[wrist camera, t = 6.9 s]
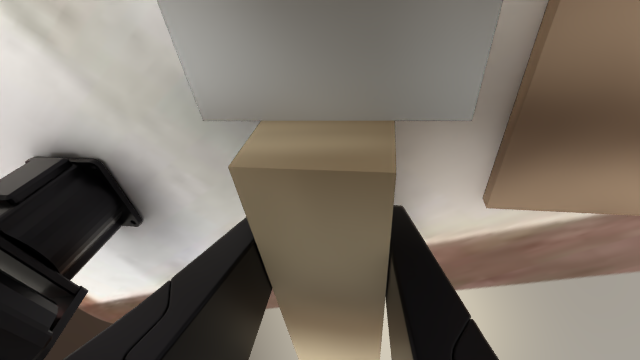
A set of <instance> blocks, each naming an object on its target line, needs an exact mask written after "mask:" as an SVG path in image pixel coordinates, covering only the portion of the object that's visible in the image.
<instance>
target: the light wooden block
mask: <svg viewBox="0 0 640 360" xmlns="http://www.w3.org/2000/svg"><path fill="white" fill-rule="evenodd" d="M157 2H158V5H159V8H160V10H161V13H162V15H163V18H164V21H165V23H166V26H167V28H168V31H169V34H170V36H171V39H172V41H173V44H174V47H175V49H176V52H177V54H178V57H179V59H180V62H181V65H182V67H183V70H184V72H185V75H186V78H187V80H188V83H189V85H190V88H191V91H192V93H193V96H194V98H195V101H196V104H197V106H198V109H199V111H200V114H201V117H202V119H203V121H261V122H260V123H259V124H258V126H257V127H256V129H255V130H254V131H253V133H252V134H251V136H250V137H249V138H248V140H247V141H246V143H245V144H244V145H243V147H242V148H241V150H240V151H239V152H238V154H237V155H236V157H235V158H234V159H233V161H232V162H231V164H230V165H229V166H228V168H229V170H230V173H231V176H232V179H233V181H234V184H235V187H236V190H237V192H238V195H239V198H240V201H241V203H242V206H243V209H244V211H245V214H246V217H247V220H248V222H249V225H250V228H251V231H252V233H253V236H254V239H255V242H256V244H257V247H258V250H259V252H260V255H261V258H262V261H263V263H264V266H265V269H266V272H267V274H268V277H269V280H270V283H271V285H272V288H273V291H274V293H275V296H276V299H277V302H278V304H279V307H280V310H281V312H282V315H283V318H284V321H285V323H286V326H287V329H288V332H289V334H290V337H291V340H292V342H293V345H294V348H295V351H296V353H297V356H298V359H299V360H380V351H381V340H382V328H383V318H384V306H385V295H386V283H387V272H388V261H389V249H390V238H391V227H392V215H393V204H394V192H395V181H396V149H395V121H472V118H473V115H474V111H475V107H476V103H477V99H478V95H479V91H480V87H481V84H482V80H483V76H484V72H485V68H486V64H487V60H488V57H489V53H490V49H491V45H492V41H493V37H494V33H495V29H496V26H497V22H498V18H499V14H500V10H501V6H502V2H503V0H157Z"/></svg>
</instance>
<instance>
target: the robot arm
mask: <svg viewBox="0 0 640 360" xmlns="http://www.w3.org/2000/svg"><path fill="white" fill-rule="evenodd" d="M25 163H26V164H25V165H23V166H21V167H20V168H18V169H17V170H15V171H13V172H12V173H10V174H8V175H7V176H5V177H3V178H2V179H0V360H43V359H44V358H45V357H46V355H47V354H48V352H49V351H50V349H51V348H52V347H53V345H54V344H55V342H56V340H57V339H58V337H59V336H60V334H61V333H62V331H63V329H64V328H65V327H66V325H67V323H68V322H69V320H70V318H71V317H72V316H73V314H74V313H75V311H76V309H77V308H78V306H79V305H80V303H81V302H82V300H83V299H84V297H85V295H86V294H87V292H88V290H87V289H85V288H84V287H82V286H78V285H76V284H75V283H73V282H72V281H70V280H71V279H72V278H73V277H74V276H75V275H76V274H77V273H78V272H79V271H80V270H81V269H82V267H83V266H84V265H85V264H86V263H87V262H88V261H89V260H90V259H91V258H92V257H93V256H94V255H95V254H96V253H97V252H98V251H99V249H100V248H101V247H102V246H103V245H104V244H105V243H106V242H107V241H108V240H109V239H110V238H111V237H112V236H113V235H114V234H115V233H116V231H117V230H118V229H119V228H120V227H121V226H134V227H138V226H139V225H140V224H141V223H142V222H143V221H142V219H141V217H140V216H139V215H138V213H137V212H136V210H135V209H134V207H133V206H132V205H131V203H130V202H129V200H128V199H127V197H126V196H125V195H124V193H123V192H122V190H121V189H120V188H119V186H118V185H117V183H116V182H115V180H114V179H113V178H112V176H111V175H110V173H109V172H108V170H107V169H106V168H105V166H104V165H103V164H102V163H101V162H100V161H98V160H96V159H74V158H50V157H37V158H30V159H28V160H27V161H26V162H25ZM271 291H272V285H271V283H270V280H269V277H268V274H267V272H266V269H265V266H264V263H263V261H262V258H261V255H260V252H259V250H258V247H257V244H256V242H255V239H254V236H253V233H252V231H251V228H250V225H249V222H248V220H247V217H246V218H244V219H243V220H242V221H241V222H240V223H238V224H237V225H236V226H235V227H234V228H232V229H231V230H230V231H229V232H227V233H226V234H225V235H224V236H223V237H221V238H220V239H219V240H218V241H216V242H215V243H214V244H213V245H212V246H210V247H209V248H208V249H207V250H206V251H204V252H203V253H202V254H201V255H199V256H198V257H197V258H196V259H195V260H193V261H192V262H191V263H190V264H189V265H187V266H186V267H185V268H184V269H182V270H181V271H180V272H179V273H178V274H176V275H175V276H174V277H173V278H172V279H171V281H168V282H166V283H165V284H164V285H163V286H162V287H160V288H159V289H158V290H157V291H155V292H154V293H153V294H152V295H150V296H149V297H148V298H147V299H145V300H144V301H143V302H142V303H140V304H139V305H138V306H137V307H135V308H134V309H133V310H131V311H130V312H128V313H127V314H126V315H124V316H123V317H122V318H120V319H119V320H118V321H116V322H115V323H114V324H112V325H111V326H109V327H108V328H107V329H105V330H104V331H102V332H101V333H100V334H99V335H97V336H95V337H94V338H93V339H91V340H90V341H88V342H87V343H86V344H84V345H83V346H81V347H80V348H79V349H77V350H76V351H74V352H73V353H72V354H70V355H69V356H67V357H66V358H64V359H63V360H248V359H249V357H250V354H251V351H252V347H253V345H254V341H255V339H256V336H257V333H258V330H259V326H260V324H261V321H262V318H263V315H264V311H265V309H266V306H267V303H268V300H269V297H270V294H271ZM385 297H386V307H387V317H388V327H389V336H390V347H391V357H392V360H499V359H498V357H497V356H496V354H495V353H494V351H493V350H492V348H491V347H490V345H489V344H488V342H487V341H486V339H485V338H484V336H483V334H482V333H481V331H480V329H479V328H478V326H477V325H476V323H475V322H474V320H473V319H470V318H471V315H470V314H469V312H468V310H467V309H466V307H465V306H464V304H463V302H462V301H461V299H460V297H459V296H458V294H457V293H456V291H455V289H454V288H453V286H452V285H451V283H450V281H449V280H448V278H447V277H446V275H445V273H444V272H443V270H442V268H441V267H440V265H439V264H438V262H437V260H436V259H435V257H434V256H433V254H432V252H431V251H430V249H429V247H428V246H427V244H426V243H425V241H424V239H423V238H422V236H421V235H420V233H419V231H418V230H417V228H416V227H415V225H414V223H413V222H412V220H411V218H410V217H409V215H408V214H407V212H406V210H405V209H404V207H403V206H399V205H393V215H392V227H391V238H390V249H389V261H388V272H387V283H386V295H385Z"/></svg>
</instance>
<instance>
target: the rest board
mask: <svg viewBox="0 0 640 360" xmlns="http://www.w3.org/2000/svg"><path fill="white" fill-rule="evenodd" d="M483 200H484V203H485V205H486V208H496V209H516V210H536V211H556V212H576V213H596V214H616V215H637V216H640V0H549V2H548V5H547V8H546V11H545V14H544V17H543V20H542V23H541V26H540V29H539V32H538V35H537V38H536V41H535V44H534V47H533V50H532V53H531V56H530V59H529V62H528V65H527V68H526V71H525V74H524V77H523V80H522V83H521V86H520V89H519V92H518V95H517V98H516V101H515V104H514V106H513V109H512V112H511V115H510V118H509V121H508V124H507V127H506V130H505V133H504V136H503V139H502V142H501V145H500V148H499V151H498V154H497V157H496V160H495V163H494V166H493V169H492V172H491V175H490V178H489V181H488V184H487V187H486V190H485V193H484V196H483Z"/></svg>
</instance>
